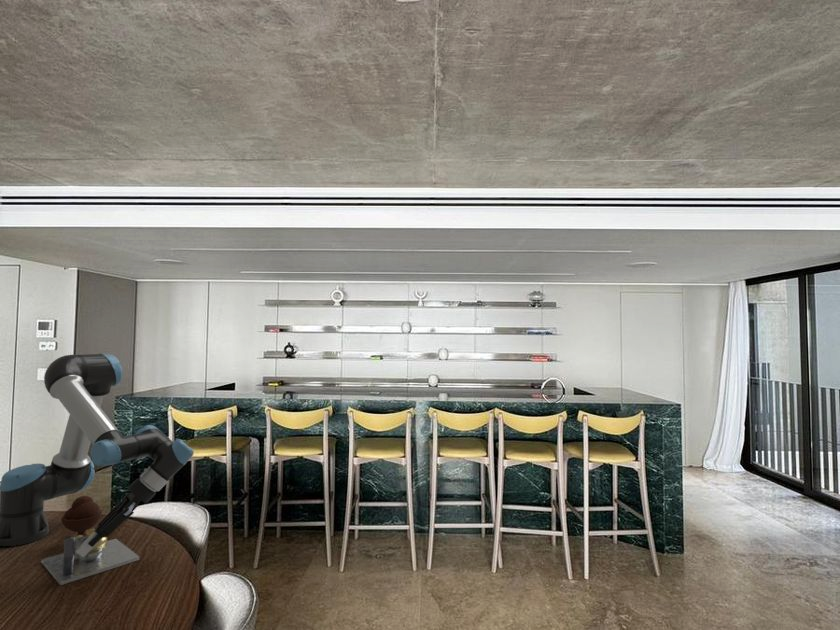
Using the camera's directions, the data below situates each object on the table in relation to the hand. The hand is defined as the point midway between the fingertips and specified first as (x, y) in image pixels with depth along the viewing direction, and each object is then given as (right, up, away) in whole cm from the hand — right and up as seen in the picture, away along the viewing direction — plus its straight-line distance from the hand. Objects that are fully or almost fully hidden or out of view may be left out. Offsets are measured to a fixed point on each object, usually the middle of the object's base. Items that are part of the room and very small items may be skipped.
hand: (79, 553), depth 138 cm
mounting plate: (-2, -6, +8) cm, 10 cm away
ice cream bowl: (-14, -7, +20) cm, 26 cm away
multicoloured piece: (-2, -5, +5) cm, 7 cm away
